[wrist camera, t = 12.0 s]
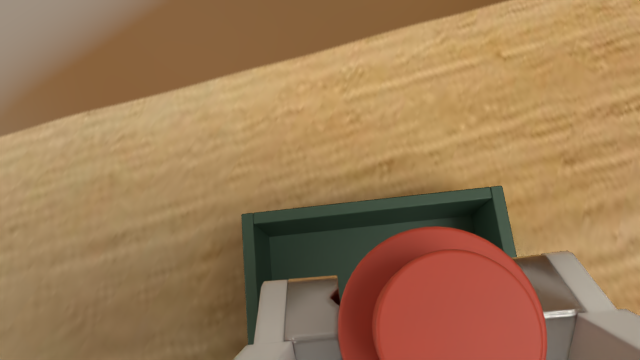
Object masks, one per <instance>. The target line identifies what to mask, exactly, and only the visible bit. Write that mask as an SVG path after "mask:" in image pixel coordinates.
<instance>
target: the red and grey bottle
mask: <svg viewBox="0 0 640 360" xmlns="http://www.w3.org/2000/svg"><path fill="white" fill-rule="evenodd" d="M338 339H339V346H340V352H341V355H342V359H343V360H546V353H547V330H546V323H545V317H544V314H543V310H542V307H541V303H540V301H539V299H538V296H537V294H536V291H535V290H534V288H533V286H532V284H531V283H530V281H529V279H528V278H527V276H526V275H525V274H524V272H523V271H522V269H521V268H520V267H519V266H518V265H517V264H516V263H515V262H514V260H513V259H512V258H511V257H510V256H508V255H507V254H506V253H505V252H504V251H502V250H501V249H500V248H499V247H497V246H496V245H494V244H493V243H491V242H489V241H488V240H486V239H484V238H482V237H480V236H478V235H476V234H473V233H470V232H467V231H464V230H460V229H455V228H451V227H440V226H433V227H421V228H415V229H410V230H407V231H404V232H401V233H398V234H396V235H394V236H392V237H390V238H388V239H386V240H385V241H383V242H381V243H380V244H378V245H377V246H376V247H375V248H373V249H372V250H371V251H370V252H369V253H368V254H367V255H366V256H365V257H364V258H363V259H362V260H361V261H360V263H359V264H358V265H357V267H356V268H355V270H354V271H353V273H352V274H351V276H350V278H349V280H348V282H347V284H346V287H345V290H344V292H343V295H342V298H341V303H340V308H339V315H338Z"/></svg>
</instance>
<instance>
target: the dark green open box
mask: <svg viewBox="0 0 640 360" xmlns="http://www.w3.org/2000/svg"><path fill="white" fill-rule="evenodd" d="M241 216H242V236H243V255H244V275H245V294H246V314H247V333H248V345H253V344H254V338H255V330H256V323H257V315H258V308H259V300H260V293H261V286H262V284H263V283H264V281H275V280H289V279H295V278H308V277H321V276H334V275H337V278H338V285H339V293H340V303H341V298H342V295H343V292H344V290H345V287H346V284H347V282H348V280H349V278H350V276H351V274H352V273H353V271H354V270H355V268H356V267H357V265H358V264H359V263H360V261H361V260H362V259H363V258H364V257H365V256H366V255H367V254H368V253H369V252H370V251H371V250H372V249H373V248H375V247H376V246H377V245H378V244H380V243H381V242H383V241H385V240H386V239H388V238H390V237H392V236H394V235H396V234H398V233H401V232H404V231H407V230H410V229H415V228H421V227H433V226H440V227H451V228H455V229H460V230H464V231H467V232H470V233H473V234H476V235H478V236H480V237H482V238H484V239H486V240H488V241H489V242H491V243H493V244H494V245H496V246H497V247H499V248H500V249H501V250H502V251H504V252H505V253H506V254H507V255H508V256H510V257H511V258H512V257H517V255H516V250H515V246H514V241H513V236H512V231H511V226H510V222H509V217H508V212H507V207H506V202H505V197H504V193H503V188H502V186H493V187H484V188H475V189H466V190H457V191H448V192H439V193H430V194H421V195H411V196H402V197H393V198H384V199H375V200H366V201H357V202H348V203H339V204H330V205H321V206H311V207H302V208H293V209H284V210H275V211H266V212H257V213H247V214H242V215H241Z"/></svg>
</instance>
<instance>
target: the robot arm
mask: <svg viewBox="0 0 640 360" xmlns="http://www.w3.org/2000/svg"><path fill="white" fill-rule="evenodd" d="M512 259H513V260H514V262H515V263H516V264H517V265H518V266H519V267H520V268H521V269H522V271H523V272H524V274H525V275H526V276H527V278H528V279H529V281H530V283H531V284H532V286H533V288H534V290H535V291H536V294H537V296H538V299H539V301H540V303H541V307H542V310H543V314H544V317H545V323H546V330H547V353H546V360H640V316H638V315H636V314H634V313H633V312H631V311H629V310H627V309H619V310H617V309H616V307H615V306H614V305H613V304H612V302H611V301H610V300H609V298H608V297H607V296H606V295H605V293H604V292H603V291H602V290H601V288H600V287H599V286H598V285H597V283H596V282H595V281H594V280H593V278H592V277H591V276H590V275H589V273H588V272H587V271H586V269H585V268H584V267H583V266H582V264H581V263H580V262H579V261H578V259H577V258H576V257H575V256H574V254H573V253H571V252H569V251H560V252H552V253H544V254H541V255H530V256H521V257H512ZM339 308H340V293H339V285H338V278H337V275H334V276H321V277H308V278H295V279H289V280H275V281H264V283H263V284H262V286H261V293H260V300H259V308H258V315H257V323H256V330H255V338H254V344H253V345H246V346H245V347H244V348H243V349H242V350H241V351H240V353H239V354H238V355H237V356H236V357H235V358H234V359H233V360H343V359H342V355H341V352H340V346H339V339H338V315H339Z"/></svg>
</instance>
